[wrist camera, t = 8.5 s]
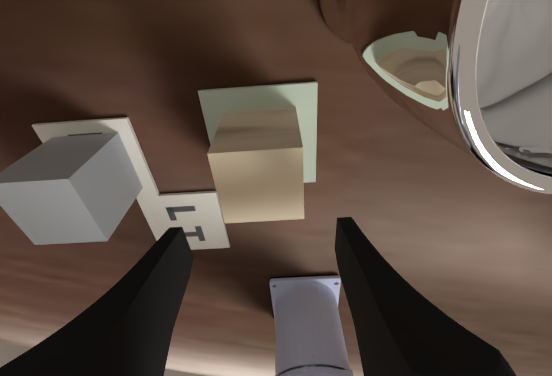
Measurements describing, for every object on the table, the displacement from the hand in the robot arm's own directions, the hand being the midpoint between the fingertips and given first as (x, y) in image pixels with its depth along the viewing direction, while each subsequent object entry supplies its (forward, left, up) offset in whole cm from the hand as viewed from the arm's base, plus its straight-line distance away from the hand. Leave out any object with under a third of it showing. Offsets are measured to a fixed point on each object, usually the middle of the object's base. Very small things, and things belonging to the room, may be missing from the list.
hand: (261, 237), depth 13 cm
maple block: (0, 0, -10) cm, 10 cm away
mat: (0, 0, -10) cm, 10 cm away
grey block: (-1, +13, -10) cm, 16 cm away
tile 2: (-8, +8, -10) cm, 15 cm away
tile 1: (-1, +13, -10) cm, 17 cm away
